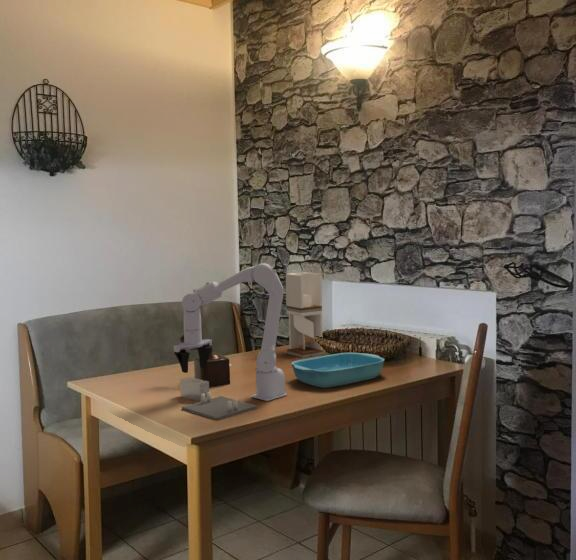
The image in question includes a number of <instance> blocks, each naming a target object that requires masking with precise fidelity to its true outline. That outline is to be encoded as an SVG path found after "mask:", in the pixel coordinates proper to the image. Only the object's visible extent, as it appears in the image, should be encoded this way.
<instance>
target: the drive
mask: <svg viewBox="0 0 576 560" xmlns="http://www.w3.org/2000/svg"><path fill="white" fill-rule="evenodd" d="M179 382H180V383H179V384H180V386H179V387H180V398H181V397H182V398H184V397H185V399H188V398H189V399H188V400H192V401H195V400H196V402H201V394H205V400H207V392H210V387H209V381H204V380H200V379H196V378H195V377H191V376H188V377H185V378H180V380H179Z"/></svg>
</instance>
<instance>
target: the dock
mask: <svg viewBox="0 0 576 560" xmlns="http://www.w3.org/2000/svg"><path fill="white" fill-rule="evenodd" d="M211 393H212V392H211V391H209V392H207V400H205V394H201V402H199V401H197V402H195V403H191V404H188V405H183V406H181V410H182V411H187V412H189V413H192V414H196V415H199V416H202V417H205V418H208V419H211V418H212V419H211V420H214V419H215V421H219V420H222V419H225V418H229V417H232V415H233V416H235V415H236V416H237V415H239V414H242V413H245V411H246V412H248V411H252V410H255V409H257V408H258V406H257V405H256V404H252V403H248V402H245V401H240V400H239V399H237V398H235V399H234V398H229V397H226V396H222V395H221V396H217V397H213V398H212V394H211Z"/></svg>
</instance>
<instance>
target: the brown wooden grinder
mask: <svg viewBox="0 0 576 560" xmlns="http://www.w3.org/2000/svg"><path fill="white" fill-rule="evenodd" d="M179 337H180V338H179V341H180V343H184V334H182V335H181V336H179ZM208 339H211V340H212V345H211V347H212V348H213V344H214V343H213V341H214V340H213V338H212V337H209V338H208ZM189 350H191V351H196V350H197V348H194V349H189ZM193 364H194V366H193V367H194V370H193V371H194V378H196V379H200V380H204V381H209V388H212V387H220V386H226V385H231V370H230V369H231V367H230V366H229V364H230V358H228V357H226V356H225V355H223V354H221V353H219V352H218V353H217V352H215V351H213V349H212V350H211V352H210V354H209V357H208V360H207V364H206V368H205V369H204V368H200V361H199V355H197V356H193Z"/></svg>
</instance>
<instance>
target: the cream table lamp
mask: <svg viewBox="0 0 576 560" xmlns="http://www.w3.org/2000/svg"><path fill="white" fill-rule="evenodd" d="M322 292H323V290H322V273H317V272H316V273H315V272H305V271H304V272H293V273H285V298H286V299H285V300H286V301H285V303H286V307H285V309H286V310H285V311H286V314H288V332H289V333H288V337H289V338H288V339H289V341H288V342H289V348H287V349H286V350H287V353H288V354H287V355H290V354H292V355H291V356H294V355H295V357H297V356H299V357H298V358H301V357H302V359H304V358H303V357H306V358H309V357H308V356H312V357H315V356H314V355H317V356H321V355H320V354H324V352H323V350H324V348H323V349H322V347H321V346H320V345H319V344H317V343H316V342H315V341H314V337H315V336H319V337H322V338H323V304H322V303H323V298H322V297H323V296H322V295H323V294H322Z"/></svg>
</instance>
